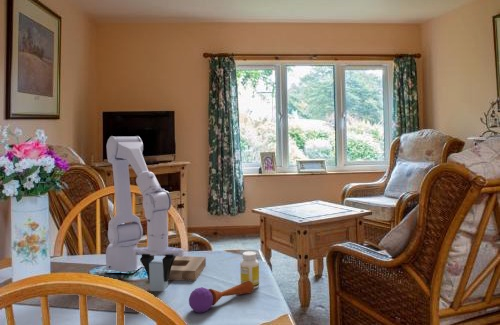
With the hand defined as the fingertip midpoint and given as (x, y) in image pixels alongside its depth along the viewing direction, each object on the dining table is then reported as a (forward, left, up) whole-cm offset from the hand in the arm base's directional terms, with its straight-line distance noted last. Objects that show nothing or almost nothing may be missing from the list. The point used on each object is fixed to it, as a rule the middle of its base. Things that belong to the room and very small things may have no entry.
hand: (158, 280), depth 114 cm
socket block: (+2, +14, -2) cm, 14 cm away
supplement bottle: (+26, +4, -3) cm, 26 cm away
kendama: (+20, -8, -3) cm, 22 cm away
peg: (0, 0, -2) cm, 2 cm away
